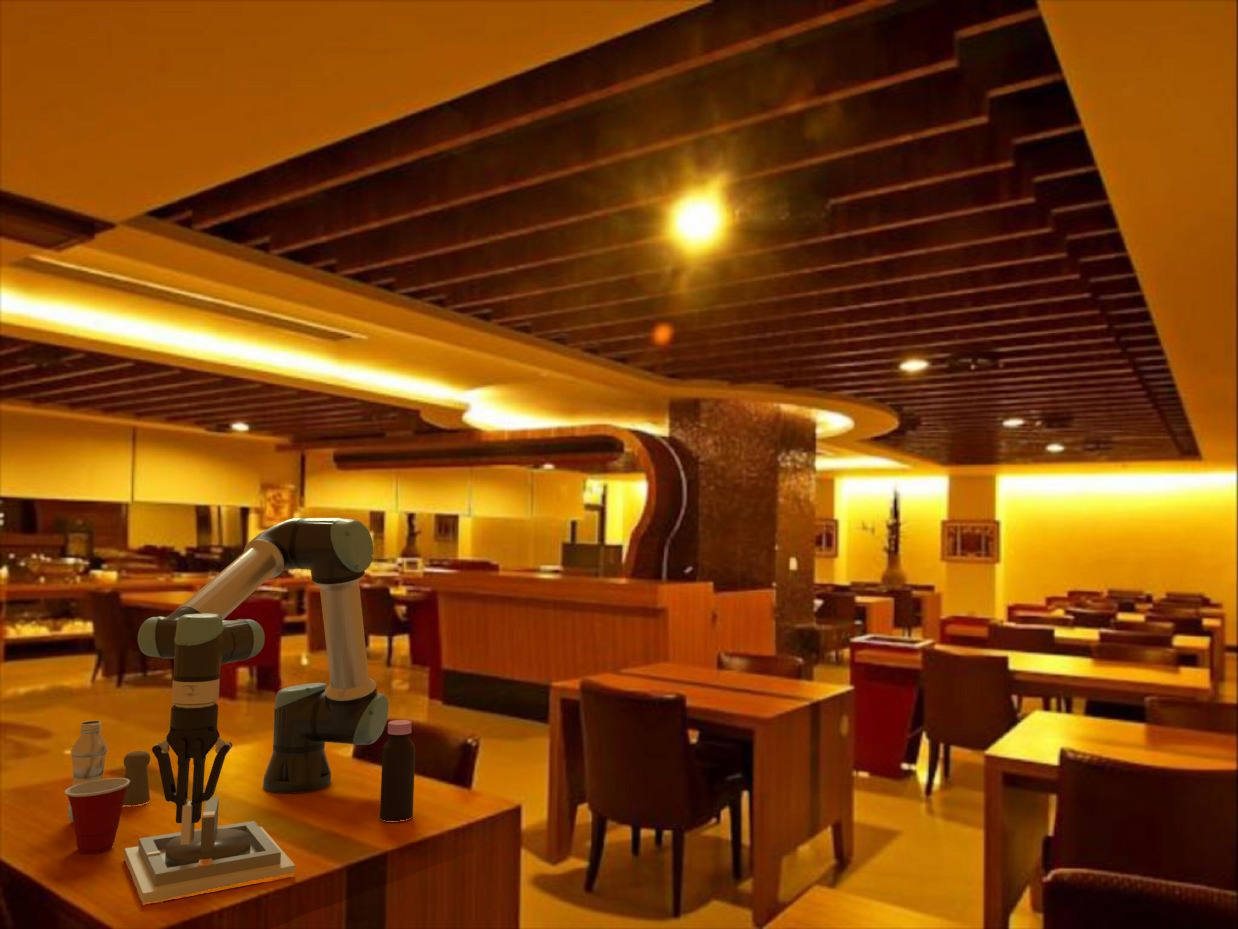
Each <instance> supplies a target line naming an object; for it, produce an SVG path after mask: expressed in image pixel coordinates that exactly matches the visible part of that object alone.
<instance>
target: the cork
mask: <svg viewBox="0 0 1238 929" xmlns="http://www.w3.org/2000/svg"><path fill="white" fill-rule="evenodd" d="M150 762H151V754H150V753H149V752H148V751H145V750H134V751H130V752H128V753H126V755H125V756H124V758H123V766H124V768H125V773H124V777H123V778H126V779H129V780H130V784H129V785H128V787H127V791H126V794H125V799H124V802H123V805H131V806H132V805H138V804H143V803H146V802H148V801H149V800H150V801H151V799H150V784H149V774H148V766H149V764H150Z"/></svg>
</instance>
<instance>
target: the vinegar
mask: <svg viewBox="0 0 1238 929" xmlns="http://www.w3.org/2000/svg"><path fill="white" fill-rule="evenodd" d="M412 724H413V722H412V721H411V720H408V719H407V720H406V719H395V720H390V721H389V722H387V736H388V740H387V741H386V742H385V743H384V744H383V746H382V753H381V754H382V756H381V780H380V803H379V804H380V806H379V808H380V809H379V818H380V819H379V820H381V819H382V820H385V821H400V820H406V819H409V818H411V817H412V818H413V815H414V814H413V813H414V790H415V769H416V768H415V766H416V765H415V764H416V763H415V762H416V761H415V760H416V745H415V743H414V742H413V741H412V740H411V738H410V737H411V735H412ZM412 818H411V819H412ZM382 820H381V821H382ZM385 821H384V822H385Z"/></svg>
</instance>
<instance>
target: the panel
mask: <svg viewBox="0 0 1238 929" xmlns="http://www.w3.org/2000/svg"><path fill="white" fill-rule="evenodd" d="M222 828H223V829H237V830H242V831H245V832H247V833H249V834H250V836H251V848H250V853H249V854H245V855H240V856H234V857H228V858H222V859H216V860H212V859H201V860H199V863H193V864H187V865H182V866H176V867H171V866H169V865H168V864H166V862H165V852H166V844H167V843H168V842H169V841H170V840H172V839H173V838H175V837H178V836H180V835H181V831H179V832H173V833H166V834H161V835H153V836H148V837H147V836H146V837H142V838H141V837H140V838H139V839H138V845H137V846H133V847H132V846H131V847H125V848H124V857H123V860H124V859H125V861H126V863H127V865H128V868H129V870H130V873H131V875H132V878H133V880H134V883H135V886H136V888H137V890H138V893H139V895H140V898H141V900H142V902H143V903H146V902H153V901H161V900H164V899H168V898H172V897H177V896H181V895H187V894H192V893H195V892H201V891H205V890H208V889H213V888H218V887H223V886H230V885H233V884H238V883H244V882H248V881H251V880H258V879H264V878H269V877H276V876H280V875H285V874H292V873H295V874H296V864H295V863H294V862H293V861H292V860H291V859H290V858H289V856H288V855H287V854H286V853H285V852H284V850H282V848H281V847H280V846H279V845H278V844H277V843H276V842H275V840H274V839H273V838H272V837H271V836H270V835H269V833H268V832H267V831H266V830H265V829H264V828H263V826H259V825H258V824H257V822H256V821H255V820H251V821H245V822H244V821H243V822H238V823H231V824H226V825H225V824H224V825H218V827H217V829H222ZM201 829H202V828H199V829H194V831H200V830H201ZM125 861H124V862H125ZM126 863H125V864H126ZM128 868H127V869H128ZM130 873H129V874H130ZM132 878H131V879H132ZM134 883H133V884H134ZM135 886H134V887H135ZM136 888H135V889H136ZM138 893H137V894H138ZM140 898H139V899H140Z"/></svg>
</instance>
